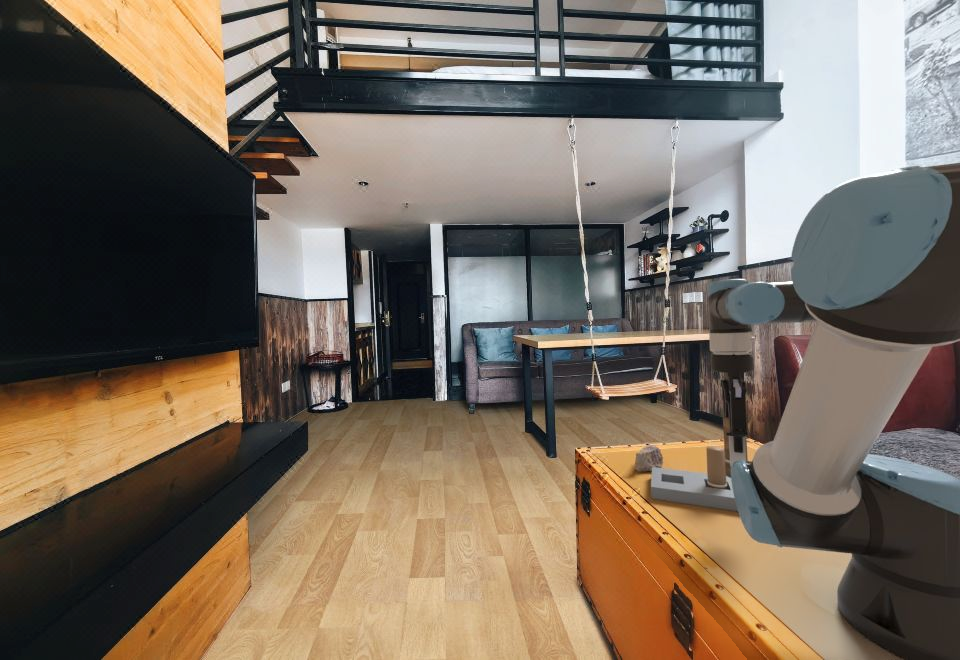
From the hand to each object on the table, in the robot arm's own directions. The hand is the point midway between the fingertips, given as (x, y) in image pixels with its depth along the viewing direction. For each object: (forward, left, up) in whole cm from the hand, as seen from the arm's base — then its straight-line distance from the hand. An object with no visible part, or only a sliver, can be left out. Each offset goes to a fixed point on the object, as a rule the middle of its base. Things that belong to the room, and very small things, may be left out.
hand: (736, 463), depth 79 cm
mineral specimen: (+30, +18, -14) cm, 38 cm away
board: (+16, +7, -14) cm, 22 cm away
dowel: (0, 0, -3) cm, 3 cm away
